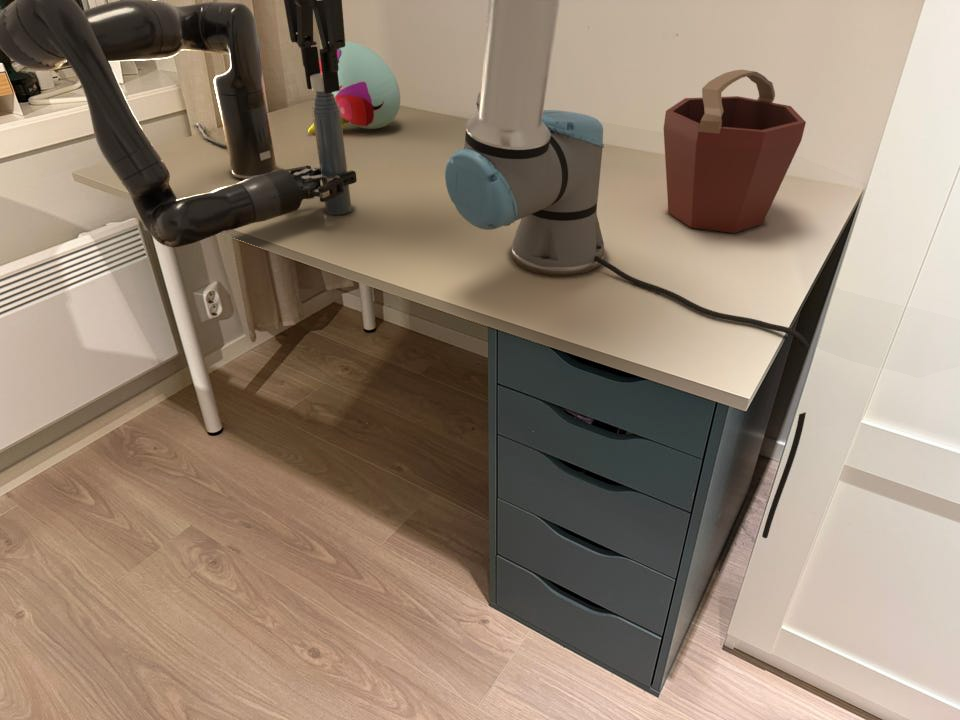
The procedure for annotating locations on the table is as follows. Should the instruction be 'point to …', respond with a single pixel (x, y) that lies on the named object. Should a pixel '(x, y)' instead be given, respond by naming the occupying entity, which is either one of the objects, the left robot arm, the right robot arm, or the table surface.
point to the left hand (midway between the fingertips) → (345, 172)
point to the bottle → (331, 147)
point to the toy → (365, 88)
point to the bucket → (728, 154)
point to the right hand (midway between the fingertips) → (323, 89)
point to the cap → (317, 82)
